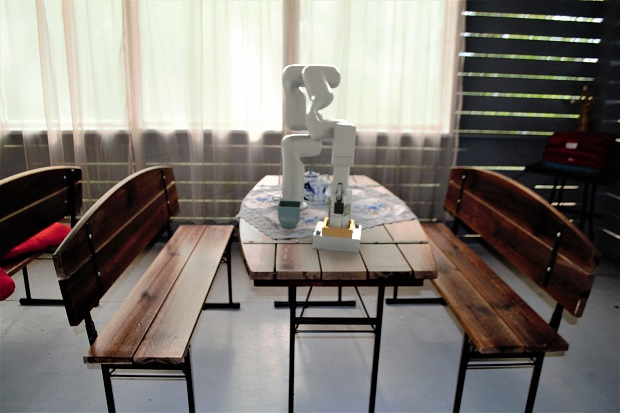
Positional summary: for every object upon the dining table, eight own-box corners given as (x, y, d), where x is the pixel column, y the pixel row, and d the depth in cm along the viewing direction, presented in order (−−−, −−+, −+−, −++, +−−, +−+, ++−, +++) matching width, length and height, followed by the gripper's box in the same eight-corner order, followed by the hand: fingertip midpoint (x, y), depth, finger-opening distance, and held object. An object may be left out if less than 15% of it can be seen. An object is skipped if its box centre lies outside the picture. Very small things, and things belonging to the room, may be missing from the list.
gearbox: (312, 248, 155) (313, 228, 152) (317, 233, 168) (318, 214, 166) (358, 253, 153) (360, 232, 151) (360, 238, 166) (362, 218, 164)
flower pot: (278, 221, 179) (279, 199, 177) (300, 222, 179) (301, 200, 176) (276, 229, 171) (277, 206, 168) (299, 230, 171) (300, 207, 168)
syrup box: (335, 224, 162) (338, 185, 158) (349, 228, 159) (352, 188, 155) (326, 228, 158) (329, 188, 154) (341, 232, 155) (344, 191, 150)
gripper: (334, 154, 160) (331, 202, 165) (329, 164, 143) (326, 217, 149) (355, 156, 159) (351, 203, 164) (352, 166, 142) (348, 219, 148)
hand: (339, 209), depth 157 cm, fingers closed on syrup box, 7 cm apart
